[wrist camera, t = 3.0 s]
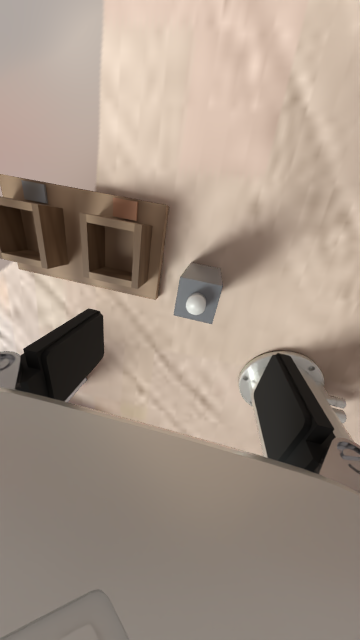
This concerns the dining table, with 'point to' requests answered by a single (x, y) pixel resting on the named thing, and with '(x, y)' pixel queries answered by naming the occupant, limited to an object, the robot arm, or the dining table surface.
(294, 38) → the dining table surface
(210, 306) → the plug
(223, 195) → the dining table surface
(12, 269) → the dining table surface
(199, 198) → the dining table surface
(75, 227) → the socket board
